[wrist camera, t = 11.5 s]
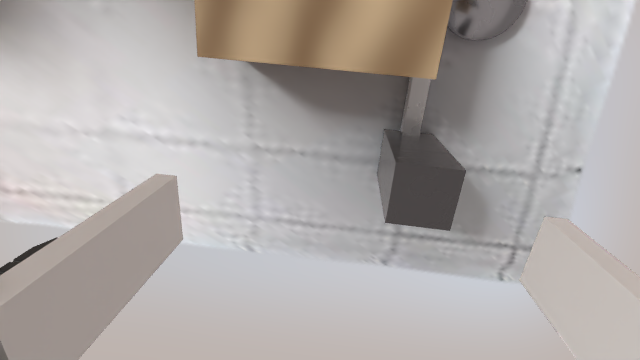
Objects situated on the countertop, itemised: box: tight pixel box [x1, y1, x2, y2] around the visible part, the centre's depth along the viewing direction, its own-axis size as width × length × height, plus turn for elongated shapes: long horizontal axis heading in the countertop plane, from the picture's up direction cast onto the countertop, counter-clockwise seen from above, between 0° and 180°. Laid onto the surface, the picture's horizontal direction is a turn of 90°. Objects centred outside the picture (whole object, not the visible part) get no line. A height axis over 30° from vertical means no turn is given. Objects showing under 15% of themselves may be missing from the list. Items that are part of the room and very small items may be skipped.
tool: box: [377, 77, 466, 231], centre depth 23 cm, size 4×20×10 cm, turn 176°
